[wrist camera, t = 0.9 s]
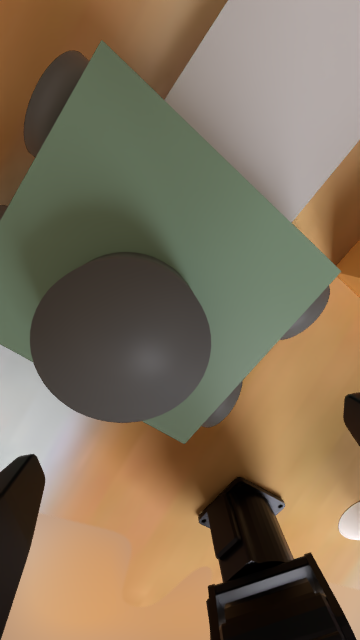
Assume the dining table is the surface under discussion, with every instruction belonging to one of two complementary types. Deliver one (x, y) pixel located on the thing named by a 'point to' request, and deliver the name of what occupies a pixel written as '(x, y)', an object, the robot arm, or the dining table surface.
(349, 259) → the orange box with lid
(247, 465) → the dining table surface
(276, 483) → the dining table surface
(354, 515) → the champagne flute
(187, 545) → the dining table surface
